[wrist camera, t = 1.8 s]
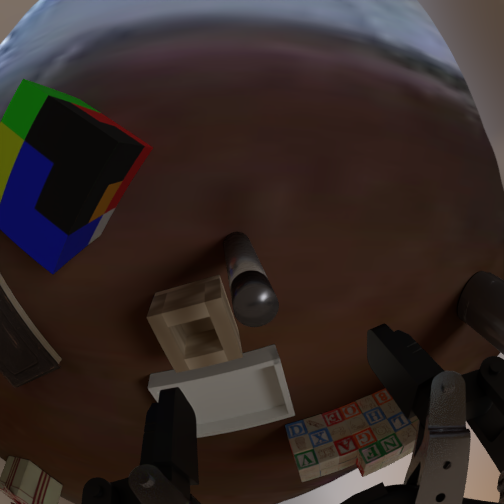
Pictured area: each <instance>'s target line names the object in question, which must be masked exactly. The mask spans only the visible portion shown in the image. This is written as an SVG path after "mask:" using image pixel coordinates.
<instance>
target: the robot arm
mask: <svg viewBox="0 0 504 504" xmlns="http://www.w3.org/2000/svg"><path fill="white" fill-rule="evenodd" d="M458 316H459V318H460V319H461V320H463V321H464V322H465V323H466V324H468V325H469V326H470V327H471V328H473V329H474V330H475V331H476V332H477V333H479V334H480V335H481V336H482V337H483V338H485V339H486V340H487V341H488V342H489V343H491V344H492V345H493V346H494V347H495V348H496V349H498V350H499V351H500V352H501V353H502V354H504V280H502V279H500V278H499V277H497V276H495V275H494V274H492V273H490V272H489V273H486V272H484V271H481V272H478V273H476V274H475V275H474V276H473V277H472V278H471V279H470V280H469V282H468V283H467V285H466V286H465V288H464V290H463V292H462V294H461V297H460V300H459V304H458ZM367 358H368V362H369V365H370V367H371V368H372V370H373V371H374V373H375V374H376V375H377V377H378V378H379V380H380V381H381V382H382V384H383V385H384V387H385V388H386V390H387V391H388V392H389V394H390V395H391V397H392V398H393V399H394V401H395V402H396V404H397V405H398V407H399V408H400V410H401V411H402V412H403V414H404V415H405V417H406V418H407V420H409V419H410V418H412V417H414V416H417V418H418V419H419V421H418V427H417V433H416V439H415V444H414V449H413V454H412V459H411V463H410V465H409V468H408V471H407V474H406V477H405V481H404V484H400V485H390V486H384V484H383V482H382V483H380V484H378V485H375V486H373V487H371V488H369V489H367V490H365V491H362V492H360V493H357V494H355V495H353V496H351V497H350V498H348V499H347V500H345V501H344V502H342V503H340V504H504V360H503V359H502V358H500V357H497V356H492V357H488V358H486V359H485V360H484V361H483V362H482V364H481V366H480V369H478V370H475V371H472V372H469V373H466V374H463V375H460V374H458V373H457V372H453V371H444V370H443V369H442V368H441V367H440V366H439V365H438V364H437V363H436V362H435V361H434V360H433V359H432V358H431V357H430V356H429V354H428V353H427V352H426V351H425V350H424V349H422V347H421V346H420V345H419V344H418V343H416V341H415V340H414V339H413V338H412V337H411V336H410V335H409V334H407V333H404V332H402V331H400V330H397V331H395V332H393V331H392V330H391V329H390V328H389V327H388V326H387V325H386V324H382V325H379V326H377V327H375V328H372V329H370V330H368V333H367ZM466 421H467V423H468V424H469V426H470V427H471V429H472V430H473V431H474V433H475V434H476V436H477V437H478V439H479V440H480V442H481V443H482V445H483V446H484V448H485V449H486V451H487V452H488V454H489V455H490V457H491V459H492V460H493V462H494V463H495V465H496V467H497V468H498V470H499V471H500V473H501V474H500V476H499V480H498V486H497V489H498V491H499V492H500V499H499V502H498V503H495V502H488V501H481V500H474V499H468V498H463V496H464V490H465V484H466V478H467V470H468V462H469V452H470V430H469V429H466V423H465V422H466ZM145 424H146V425H145V429H144V432H145V433H144V436H143V444H142V452H141V461H140V465H139V466H138V467H136V468H135V469H133V470H132V472H131V473H130V475H129V477H128V478H125V479H122V480H118V481H115V482H111V483H109V482H108V481H106V480H105V479H103V478H93V479H90V480H89V481H88V482H87V483H86V484H85V486H84V488H83V495H82V504H201V503H200V502H199V501H198V500H197V499H196V498H195V497H194V496H193V495H192V494H191V493H190V485H199V479H198V458H197V425H196V416H195V412H194V410H193V408H192V406H191V405H190V403H189V402H188V400H187V399H186V397H185V396H184V394H183V392H182V391H181V389H180V388H179V387H174V388H169V389H163V390H160V393H159V400H158V403H152V405H151V407H150V408H149V410H148V412H147V415H146V422H145Z"/></svg>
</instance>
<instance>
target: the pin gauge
mask: <svg viewBox="0 0 504 504" xmlns="http://www.w3.org/2000/svg"><path fill="white" fill-rule="evenodd" d="M223 246H224V253H225V260H226V266H227V273H228V279H229V286H230V292H231V298H232V304H233V310H234V315H235V317H236V318H237V320H238V321H239V322H240V323H242V324H244V325H246V326H250V327H259V326H262V325H265V324H267V323H269V322H270V321H271V320H272V319H273V318H274V317H275V316H276V314H277V312H278V308H279V303H278V299H277V297H276V295H275V293H274V291H273V289H272V287H271V284H270V282H269V280H268V278H267V276H266V274H265V272H264V270H263V267H262V265H261V263H260V261H259V259H258V257H257V255H256V253H255V250H254V248H253V246H252V244H251V242H250V240H249V238H248V237H247V235H245V234H244V233H241V232H233V233H231V234H229V235H228V236H227V237H226V238H225V240H224V244H223Z"/></svg>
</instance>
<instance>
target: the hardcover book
mask: <svg viewBox="0 0 504 504" xmlns="http://www.w3.org/2000/svg"><path fill="white" fill-rule="evenodd" d="M60 361H61V357H60V356H59V355H58V354H57V353H56V352H55V350H54V349H53V348H52V347H51V346H50V344H49V343H48V342H47V341H46V340H45V338H44V337H43V336H42V335H41V333H40V332H39V331H38V329H37V328H36V327H35V325H34V324H33V323H32V321H31V320H30V319H29V317H28V316H27V314H26V313H25V312H24V310H23V309H22V307H21V306H20V304H19V303H18V301H17V300H16V298H15V297H14V295H13V294H12V292H11V290H10V289H9V287H8V286H7V284H6V282H5V281H4V279H3V277H2V276H1V274H0V372H1V373H2V374H3V376H4V377H5V378H6V379H7V380H8V381H9V382H10V383H11V385H12V386H13V387H14V388H16V387H19V386H21V385H23V384H25V383H28V382H30V381H32V380H34V379H37V378H39V377H41V376H43V375H45V374H48V373H50V372H52V371H54V370H56V369H59V368H60V367H61V366H60V365H59V363H60Z"/></svg>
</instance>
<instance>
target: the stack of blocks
mask: <svg viewBox="0 0 504 504" xmlns="http://www.w3.org/2000/svg"><path fill="white" fill-rule="evenodd" d="M418 421H419V419H418V418H417V416H414V417H412V418H410V419H409V420H407V418H406V417H405V415H404V414H403V412H402V411H401V410H400V408H399V407H398V405H397V404H396V402H395V401H394V399H393V398H392V397H391V395H390V394H389V392H388V391H387V390H386V388H384V389H382V390H380V391H378V392H375V393H373V394H371V395H368V396H366V397H364V398H361V399H359V400H356V401H355V402H352V403H350V404H347V405H345V406H342V407H339V408H337V409H334V410H331V411H328V412H326V413H323V414H319V415H316V416H313V417H310V418H307V419H304V420H300V421H296V422H293V423H290V424H286V425H285V428H286V432H287V436H288V440H289V443H290V447H291V451H292V454H293V457H294V460H295V462H296V465H297V468H298V471H299V475H300V478H301V481H302V482H304V481H307V480H311V479H314V478H317V477H320V476H324V475H327V474H330V473H333V472H336V471H338V470H341V469H344V468H346V467H349V466H351V465H353V464H355V463H356V465H357V467H358V469H359V471H360V473H361V475H362V477H364V476H366V475H368V474H370V473H373V472H375V471H377V470H379V469H381V468H383V467H386V466H387V465H390V464H392V463H394V462H395V461H397V460H399V459H401V458H403V457H404V456H406V455H408V454H410V453H411V452H413V449H414V444H415V439H416V433H417V427H418Z"/></svg>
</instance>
